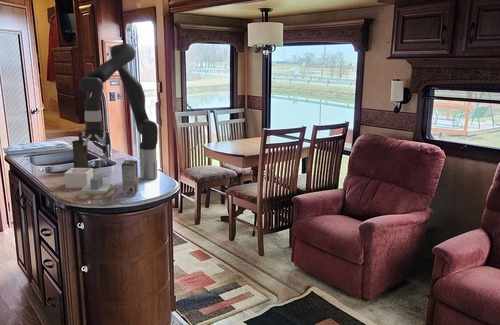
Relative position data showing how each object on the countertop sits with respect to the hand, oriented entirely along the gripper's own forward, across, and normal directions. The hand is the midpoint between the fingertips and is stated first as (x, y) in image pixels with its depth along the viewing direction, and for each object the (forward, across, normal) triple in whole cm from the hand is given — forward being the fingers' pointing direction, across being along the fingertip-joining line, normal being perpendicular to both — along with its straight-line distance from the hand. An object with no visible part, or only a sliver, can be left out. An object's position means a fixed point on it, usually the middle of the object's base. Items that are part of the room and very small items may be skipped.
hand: (95, 153), depth 204 cm
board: (+21, 0, 0) cm, 21 cm away
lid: (+20, 0, 0) cm, 20 cm away
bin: (+21, +13, -15) cm, 29 cm away
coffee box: (+21, -16, -2) cm, 26 cm away
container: (+21, +22, -46) cm, 55 cm away
